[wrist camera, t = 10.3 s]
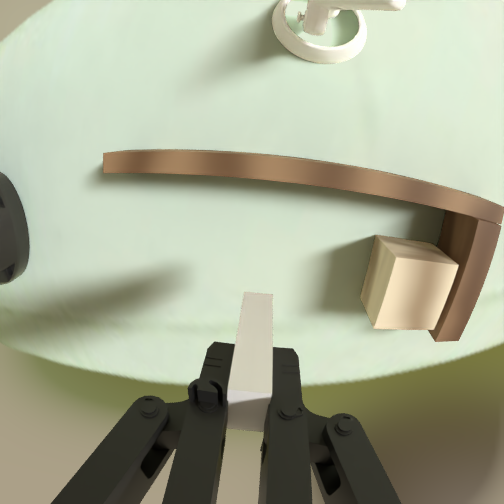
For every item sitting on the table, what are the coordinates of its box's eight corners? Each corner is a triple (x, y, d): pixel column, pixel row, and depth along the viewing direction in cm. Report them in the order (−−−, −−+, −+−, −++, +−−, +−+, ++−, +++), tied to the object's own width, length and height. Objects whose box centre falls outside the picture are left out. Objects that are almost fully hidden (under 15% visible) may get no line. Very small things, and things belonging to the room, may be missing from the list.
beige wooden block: (359, 296, 24) (373, 328, 20) (374, 234, 22) (396, 257, 17) (413, 300, 24) (433, 329, 19) (431, 242, 22) (458, 265, 17)
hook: (439, 97, 13) (379, 61, 10) (323, 69, 21) (257, 53, 18) (452, 8, 9) (393, -50, 5) (335, 3, 17) (271, -22, 14)
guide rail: (135, 281, 26) (110, 308, 21) (129, 150, 21) (95, 154, 17) (444, 312, 24) (465, 340, 19) (479, 196, 19) (511, 210, 15)
